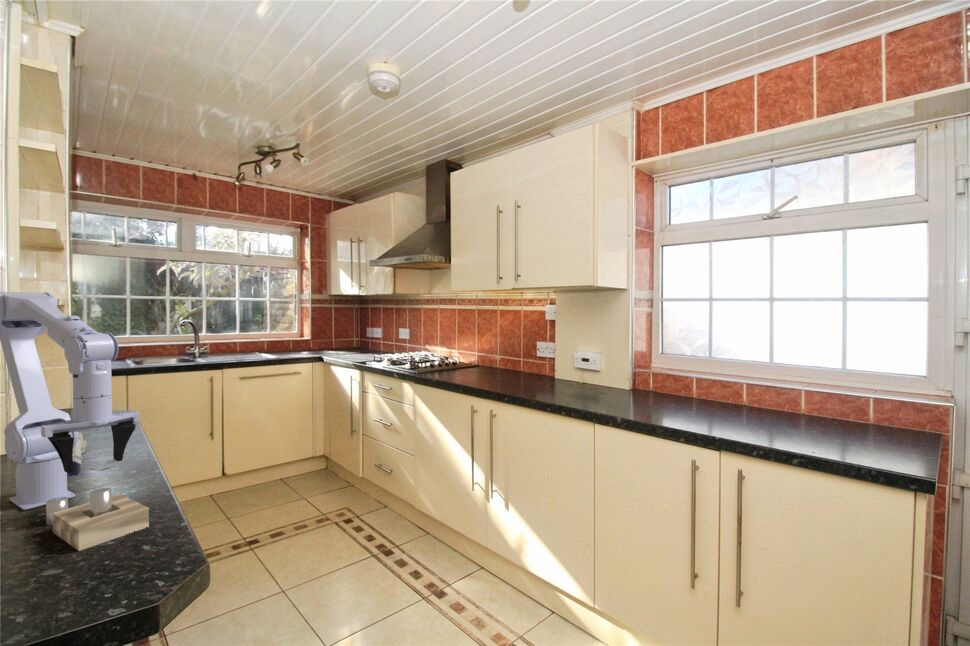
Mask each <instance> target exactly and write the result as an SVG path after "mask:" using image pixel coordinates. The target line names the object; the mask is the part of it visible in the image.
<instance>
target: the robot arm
mask: <svg viewBox="0 0 970 646" xmlns="http://www.w3.org/2000/svg"><path fill="white" fill-rule="evenodd" d="M45 333H47V336H48V337H49V339H51V340H52V341H53V342H55V344H57V345H58V346H60V347H61V348H62V349H63V352H64V354H63V355H64V358H65V360H66V363H67V367H68V372H69V374H71V375H72V412H73V417H72V418H73V419H71V416H70V414H69V413H68V412H66V411H63V410H60V409H59V408H55V407H54V406H53V404H52V400H51V397H50V394H49V390H48V385H47V383H46V379H45V375H44V372H43V367H42V363H41V361H40V357H39V353H38V350H37V346H36V342H35V338H36V337H39V336H40V335H43V334H45ZM0 345H1V349H2V353H3V355H4V356H3V357H4V360H5V364H6V367H7V371H8V375H9V378H10V382H11V386H12V390H13V393H14V394H13V395H14V399H15V401H16V405H17V409H18V413H19V414H18V415H17V416H16V417H15V418H14V419H13V420H11V421H10V422H9V423H7V425H6V426H5V428H4V432H3V433H4V451H5V453H6V455H7V457H8V459H10V460H12V461H13V462H16V463H17V465H16V467H15V496H12V497H9V501H10V502H11V503H13V504H14V505H16V506H17V507H19V508H20V510H23V511H26V510H30V509H34V508H38V507H43V506H46V502H47V501H48V500H51V499H54V498H58V497H68V499H71V498H75V497H76V494H75V493H73V492H72V491H70V490H68V477H67V473H71V472H73V457H72V453H73V448H74V446H75V445H76V443H77V440H78V432H77V431H79V432H81V431H87V430H93V429H98V428H99V429H100V428H104V427H111V433H112V441H113V447H112V448H113V449H112V451H113V453H112V454H113V455H112V456H113V461H117V462H122V461H123V458H124V455H125V454H124V453H125V450H126V448H127V444H128V443H129V440H130V438H131V437H132V435H133V433H134V431H135V430H136V423H138V422H140V412H139V411H137V410H134V411H126V412H119V413H118V412H116V413H113V386H112V385H113V384H112V383H113V381H112V380H113V379H112V362H114V361H115V360H116V359H117V357H118V355H119V343H118V340H117V337H115V335H114V334H113V333H112V332H97V331H96V330H95V329H94V328H92V327H91V326H89V325H88V324H87V323H85V322H84V321H82V320H81V318H80V317H79V316H78V315H65V313H63V312H62V311H61V310H60V309H59V308H58V302H57V298H56V296H54V295H53V294H52V293H50V292H18V291H17V292H14V291H0Z"/></svg>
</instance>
